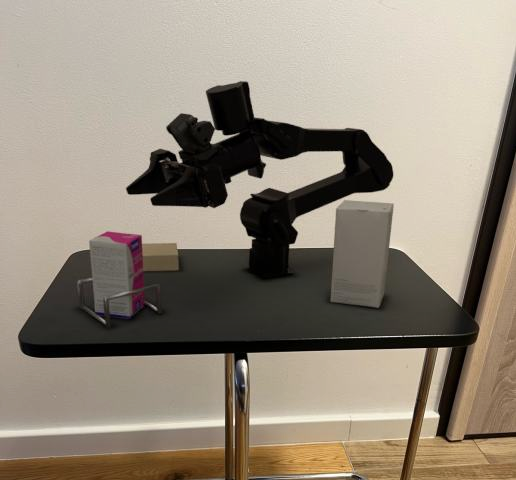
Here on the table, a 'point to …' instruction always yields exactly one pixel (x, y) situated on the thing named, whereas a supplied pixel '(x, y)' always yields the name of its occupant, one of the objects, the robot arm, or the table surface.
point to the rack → (106, 298)
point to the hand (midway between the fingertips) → (138, 196)
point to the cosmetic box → (361, 252)
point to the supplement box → (117, 272)
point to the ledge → (160, 257)
